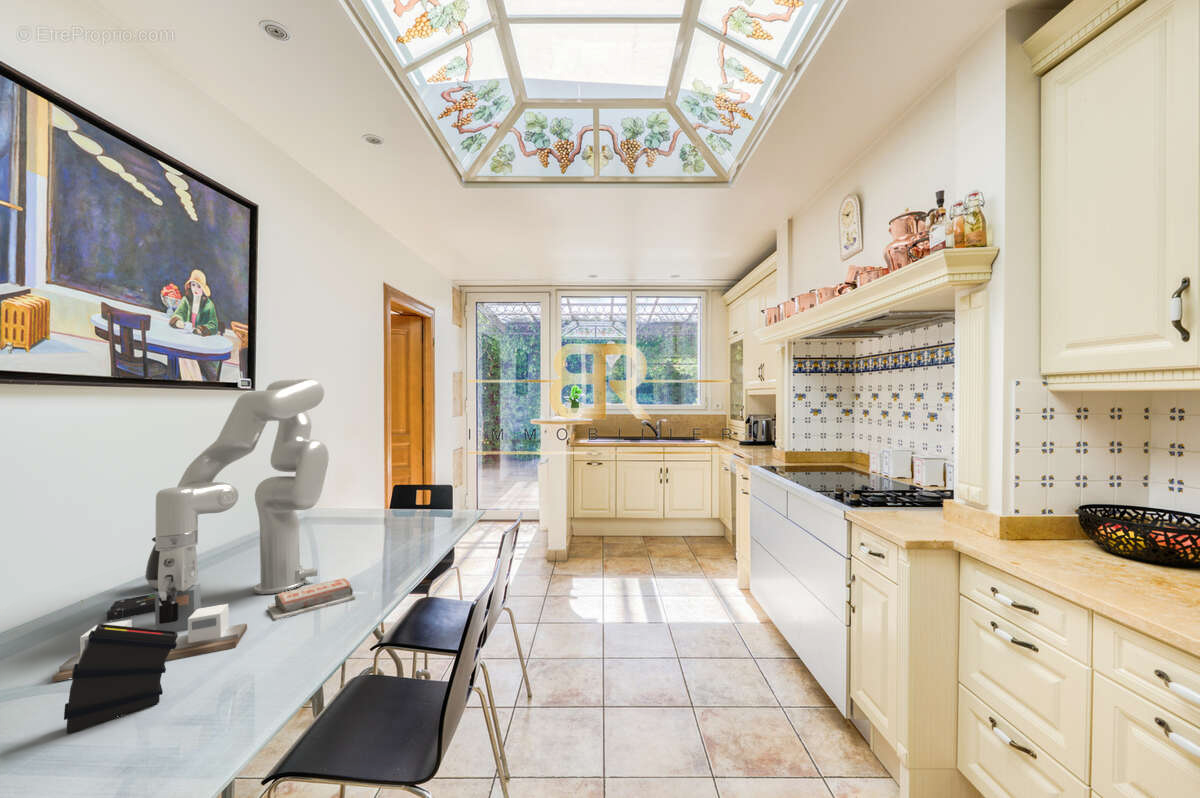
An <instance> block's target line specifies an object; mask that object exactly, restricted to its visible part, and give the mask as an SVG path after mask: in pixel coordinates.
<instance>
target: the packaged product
mask: <svg viewBox="0 0 1200 798" xmlns="http://www.w3.org/2000/svg"><path fill="white" fill-rule="evenodd" d="M353 591H354V589H353V587H352V584H351V582H350V581H348V580H347V578H340V579H335V580H334V579H333V580H329V581H326V582H321V583H317V584H312V585H309V586H304V587H300V588H299V587H298V588H295V589H292V590H289V591H285V592H280V593H276V594H275V595H274V601H275V602H274V603H270V604H268V605H267V609H268V612H269V611H270V612H269V614H270V615H272V616H271V618H272V617H273V618H272V619H273V620H274V619H275V620H276V621H278V620H277V619H280V620H282V619H281V618H284V617H287V616H290V617H292V616H291V615H294V616H297V615H296V614H299V615H301V614H300V613H302V614H306V613H310V612H313V610H314V611H318V610H321V608H322V609H325V608H328V606H329V607H332V606H335V605H339V604H342V603H347V602H350V601H354V600H356V596H355V595H354V594H353ZM317 609H318V610H317ZM309 611H310V612H309ZM305 612H306V613H305ZM287 618H288V617H287ZM284 619H285V618H284ZM275 620H274V621H275Z"/></svg>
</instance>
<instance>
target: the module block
mask: <svg viewBox="0 0 1200 798" xmlns="http://www.w3.org/2000/svg"><path fill="white" fill-rule="evenodd" d="M173 590H175V589H173ZM157 593H158V592H157ZM155 594H156V593H155ZM171 596H172V598H173V594H172V595H171ZM159 597H160V595H159V593H158V594H156V595H155V613H154V615H155V618H154V619H155V621H154V622H155V627H154V629H156V630H166V631H175V632H177V633H178V632H184V631H188V618H189V617H190V616H191V615H192V614H193V613H194V612H195V611H196V610H197V609H199V608H202V606H201V583H197V584H193V585H192V586H191V587H190V588H189V589H187V590H186V591H185V592H182V591H179V593H178V597H177V601H176V603H178V620H177V621H176V622H170V623H163V624H160V623H159Z"/></svg>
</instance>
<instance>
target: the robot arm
mask: <svg viewBox="0 0 1200 798" xmlns="http://www.w3.org/2000/svg"><path fill="white" fill-rule="evenodd" d="M324 397H325V389H324V386H323V385H322V384H321V383H320V382H319V381H317V380H315V379H313V378H298V379H284V380H278V381H273V382H271V383H270V384H269V385H268V386H266V390H253V391H248V392H245V393H242V394H241V395H240V396H239V397H238V398H237V400H236V401H235V404H234V406H233V407H232V408H231V411H230V413H229V415H228V417H227V419H226V421H225V423H224V425H223V427H222V429H221V430H220V432H219V435H218V436H217V438H216V440H215V441H214V442H213V443H212V444H210V445H209V446H208V447H206V449H205V450H203V451H202V452H201V453H200V454H199V455H198V456H197V457H196V458H194V460H193V461H192V462H191V463H190V464H189V465H188V466H187V468H186V470H185V471H184V472H183V474H182V476H181V478H180V480H179V482H178V484H177V487H176V486H175V487H169V488H162V489H160V490H159V491H157V493H156V495H155V537H156V543H155V544H156V551H160V555H159V566H158V589H157V591H158V592H157V593H159V595H160V597H159V623H160V624H163V623H170V622H176V621H177V620H178V603H176V601H177V597H178V593H179V591H182V592H185V591H186V590H187V589H189V588H190V587H191V586H192V585H195V583H197V581H198V579H199V572H198V570H199V569H198V555H197V553H198V552H197V547H196V546H197V545H198V544H199V515H203V514H205V515H206V514H218V513H223V512H226V511H229V510H230V509H232V508H233V507H234V506H235V505H236V504H237V502H238V500H239V491H238V490H237V488H236V487H235V486H234V485H233V484H230V483H226V482H218V481H215V482H214V480H215V478H216V477H217V475H218V474H219V473H220V472H221V471H222V470H223V469H225V468H226V467H228V466H229V465H230V464H233V463H234V462H236V461H238V460H241V459H242V458H244V457H247V456H248V455H250V454H251V453H252V452H253V451H254V450H256V447H257V444H258V442H259V440H260V438H261V435H262V433H263V431H264V430H265V429H264V428H265V427H266V424H267V423H268V422H274V421H275V422H276V421H278V427H277V432H276V436H275V440H274V443H273V447H272V451H271V454H270V466H271V467H272V469H274V470H276V471H278V472H282V473H283V472H284V473H295V474H294V475H293V476H292V475H285V476H284V475H283V476H282V475H278V476H277V475H276V476H272V477H268V478H265V479H264V480H263V479H262V481H261V482H259V484H258V485H257V486H256V489H255V491H254V502H255V505H256V510H257V513H258V521H259V523H258V524H259V567H260V569H259V570H260V577H259V578H260V582H259V583H258V584H256V585H255V586H253V593H255V594H257V595H272V594H279V593H282V592H284V591H285V592H286V591H287V590H289V591H290V590H291V589H292V590H295V589H297V588H296V587H298V588H299V586H300V587H302V586H303V585H305V584H306V583H305V582H307V578H308V577H310V578H312V577H317V576H318V568H309V569H308V568H307V569H305V568H303V565H302V564H301V563H300V561H301V560H300V557H301V556H300V554H301V553H300V521H299V518H298V514H297V512H296V511H305V510H309V509H311V508H313V507H314V506H315V505H317V503H318V501H319V500H320V497H321V495H322V491H323V488H324V483H325V479H326V474H327V469H328V467H329V466H328V465H329V451H328V448H327V446H326V445H325V443H323V442H322V441H320V440H317V439H310V438H311V432H312V431H311V430H312V420H311V418H310V417H311V416H310V415H309V413H308V411H309V410H311V409H314V408H316V407H317V406H319V405H320V404H321V403H322V401H323V400H324ZM300 564H301V565H300ZM304 583H305V584H304ZM301 585H302V586H301ZM294 588H295V589H294ZM173 589H175V590H173ZM172 594H173V598H172V596H171V595H172Z"/></svg>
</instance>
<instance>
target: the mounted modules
mask: <svg viewBox="0 0 1200 798" xmlns="http://www.w3.org/2000/svg"><path fill="white" fill-rule="evenodd" d="M105 624H106V625H116V626H126V627H133V625H132V624H133V621H132V619H127V620H121V621H119V620H118V621H114V622H113V621H112V622H107V623H105ZM97 626H98V624H96V625H94V626H93V627H92V628H90V629H89V630H88V631H86V632H85V633H84V634H83V635H81V636H80V640H79V641H80V645H79V647H80V652H79V653H80V658H81V655H82V653H83V650H84V648H85V647H86V645H87V643H88V640H89V634H90V632H91V631H95V629H96V628H97ZM228 626H230V625H229V603H226V604H218V605H213V606H207V607H201V608H199V609H197V610H196V611H195V612H194V613H193V614H192V615H191V616H190V617H189V618H188V630H187V634H188V643H192V642H198V641H203V640H209V639H214V638H219V637H221V636H222V635H223V633H224V632H225V631H226V629H227V628H228Z"/></svg>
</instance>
